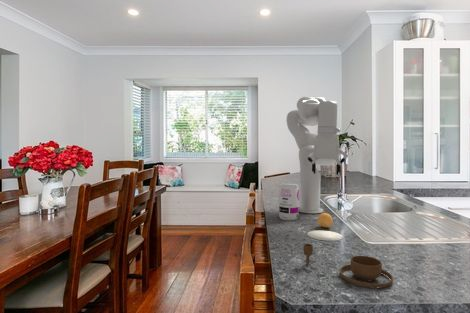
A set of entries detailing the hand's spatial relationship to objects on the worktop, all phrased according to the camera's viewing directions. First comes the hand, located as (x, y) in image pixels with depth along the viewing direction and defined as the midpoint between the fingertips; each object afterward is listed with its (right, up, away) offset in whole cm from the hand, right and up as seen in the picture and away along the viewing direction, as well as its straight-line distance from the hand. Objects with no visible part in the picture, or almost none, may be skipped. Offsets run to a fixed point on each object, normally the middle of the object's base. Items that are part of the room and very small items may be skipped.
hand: (325, 173), depth 132 cm
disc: (-6, -21, -19) cm, 29 cm away
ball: (-3, -18, -8) cm, 19 cm away
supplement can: (-14, -20, +6) cm, 25 cm away
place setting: (-8, -23, -51) cm, 57 cm away
